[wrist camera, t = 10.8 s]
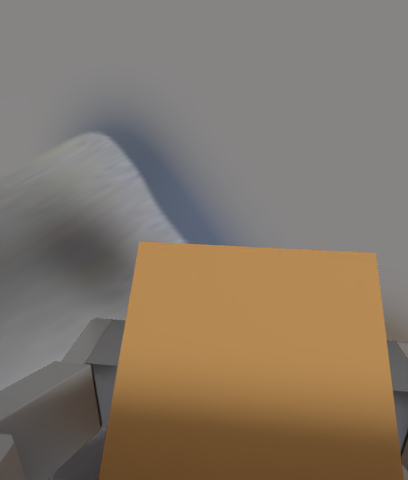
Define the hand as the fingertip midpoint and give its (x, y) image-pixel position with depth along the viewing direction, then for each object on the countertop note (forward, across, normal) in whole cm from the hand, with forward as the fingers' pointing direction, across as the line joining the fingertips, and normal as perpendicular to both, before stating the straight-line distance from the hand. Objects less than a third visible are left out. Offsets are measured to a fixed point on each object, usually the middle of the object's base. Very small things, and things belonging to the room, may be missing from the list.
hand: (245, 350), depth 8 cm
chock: (+3, 0, +4) cm, 5 cm away
